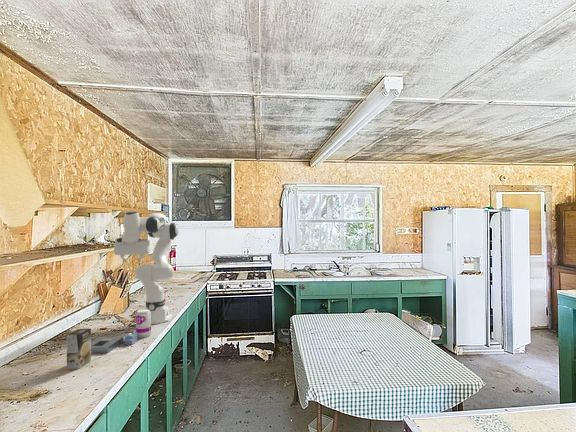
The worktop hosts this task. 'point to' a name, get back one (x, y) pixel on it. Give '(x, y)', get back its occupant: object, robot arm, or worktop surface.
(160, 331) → the worktop surface
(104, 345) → the plate
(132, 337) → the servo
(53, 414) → the worktop surface
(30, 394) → the worktop surface
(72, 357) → the coffee box
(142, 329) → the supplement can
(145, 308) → the robot arm
